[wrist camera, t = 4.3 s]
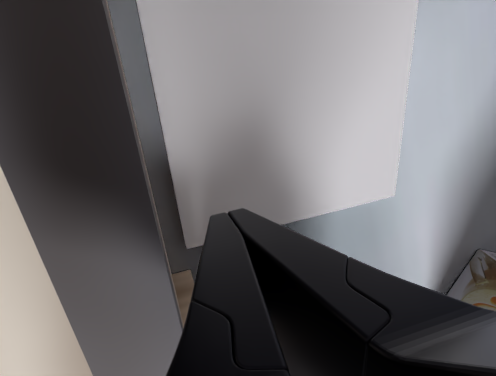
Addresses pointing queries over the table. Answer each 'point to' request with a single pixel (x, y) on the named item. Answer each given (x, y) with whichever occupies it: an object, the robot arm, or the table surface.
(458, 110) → the table surface
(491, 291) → the coffee box
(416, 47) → the table surface
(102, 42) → the lid
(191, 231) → the grey mat
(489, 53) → the table surface
